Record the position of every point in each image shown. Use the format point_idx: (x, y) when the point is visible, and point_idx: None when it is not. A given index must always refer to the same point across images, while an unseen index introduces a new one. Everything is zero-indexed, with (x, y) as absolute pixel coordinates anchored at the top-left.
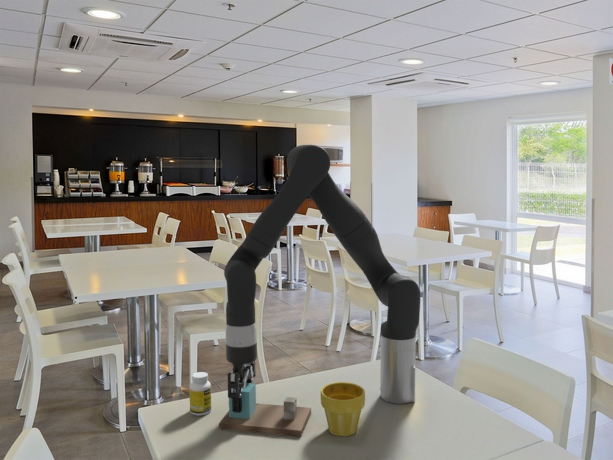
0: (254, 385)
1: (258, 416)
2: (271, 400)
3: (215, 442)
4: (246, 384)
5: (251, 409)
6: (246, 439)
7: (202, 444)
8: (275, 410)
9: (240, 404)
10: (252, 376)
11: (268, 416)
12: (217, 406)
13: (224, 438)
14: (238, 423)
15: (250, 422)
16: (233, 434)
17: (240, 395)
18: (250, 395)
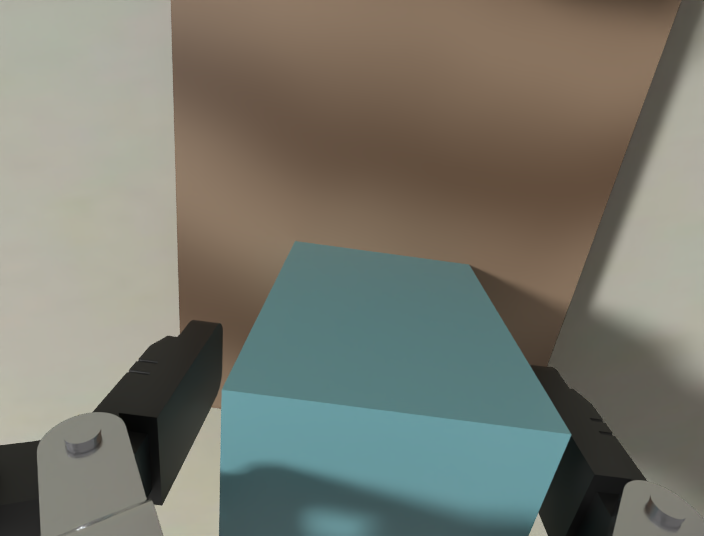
0: (282, 391)
1: (426, 201)
2: (13, 141)
3: (671, 407)
4: (278, 497)
5: (427, 281)
6: (676, 236)
7: (678, 461)
8: (295, 53)
9: (585, 420)
10: (144, 534)
11: (425, 108)
12: (208, 471)
13: (631, 370)
14: (540, 332)
15: (531, 249)
16: (586, 329)
17: (693, 522)
18: (482, 373)
